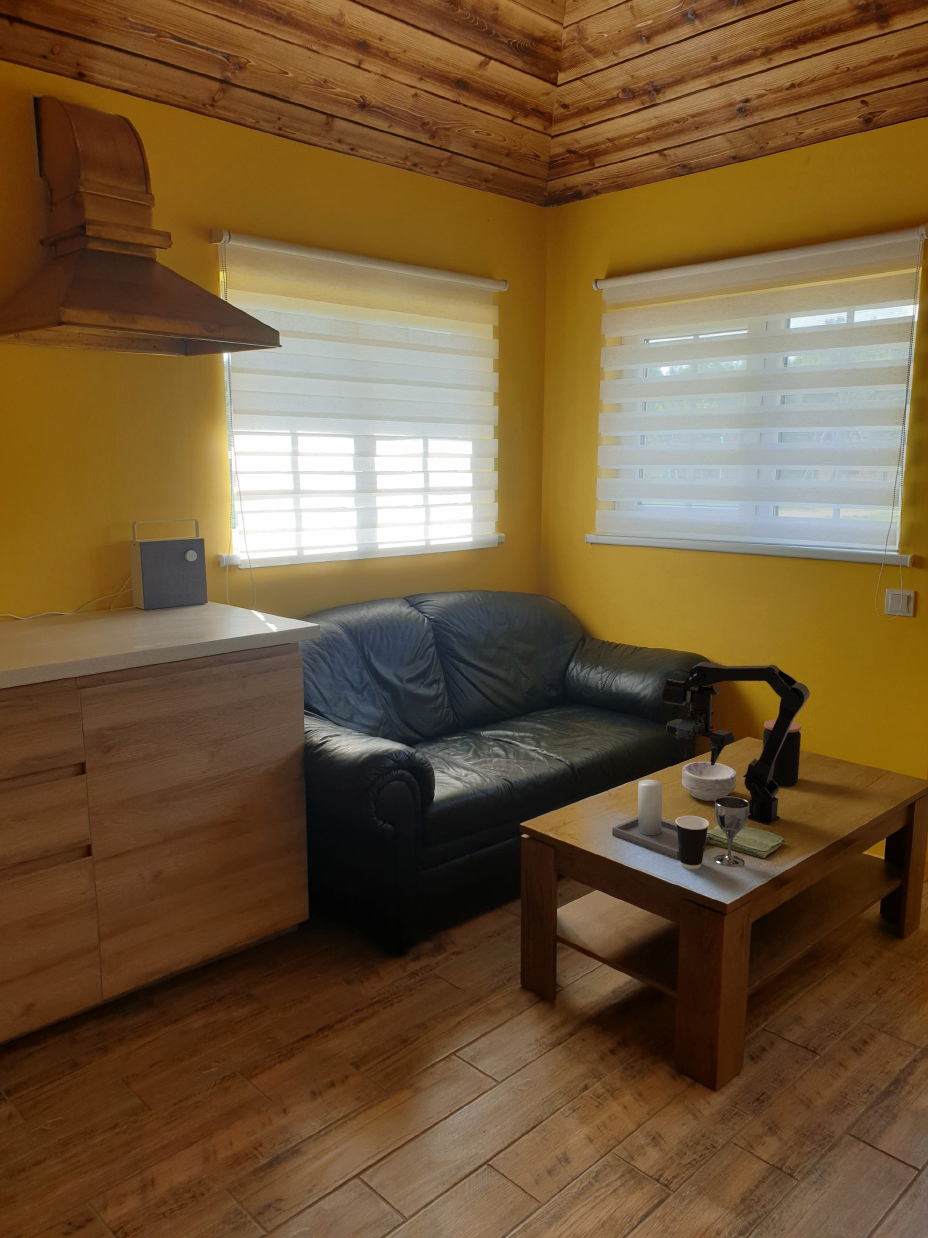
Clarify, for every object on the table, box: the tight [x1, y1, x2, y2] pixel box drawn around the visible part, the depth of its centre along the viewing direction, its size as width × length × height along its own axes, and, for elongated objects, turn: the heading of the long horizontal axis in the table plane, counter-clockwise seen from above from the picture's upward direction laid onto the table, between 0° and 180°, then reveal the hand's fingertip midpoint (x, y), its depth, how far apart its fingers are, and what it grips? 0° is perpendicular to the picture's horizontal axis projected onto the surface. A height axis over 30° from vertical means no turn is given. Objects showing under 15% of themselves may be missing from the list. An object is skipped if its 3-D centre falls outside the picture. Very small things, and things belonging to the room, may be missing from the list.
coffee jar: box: [761, 719, 802, 788], centre depth 279 cm, size 11×11×18 cm
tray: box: [611, 816, 709, 860], centre depth 238 cm, size 20×14×2 cm
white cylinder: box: [637, 779, 663, 835], centre depth 241 cm, size 6×6×13 cm
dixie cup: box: [675, 815, 710, 870], centre depth 223 cm, size 8×8×11 cm
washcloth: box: [707, 824, 786, 859], centre depth 236 cm, size 13×18×3 cm
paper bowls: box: [681, 761, 737, 802], centre depth 268 cm, size 15×15×8 cm
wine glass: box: [713, 795, 750, 868], centre depth 225 cm, size 8×8×15 cm
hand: (698, 761), depth 259 cm, fingers open, 9 cm apart
